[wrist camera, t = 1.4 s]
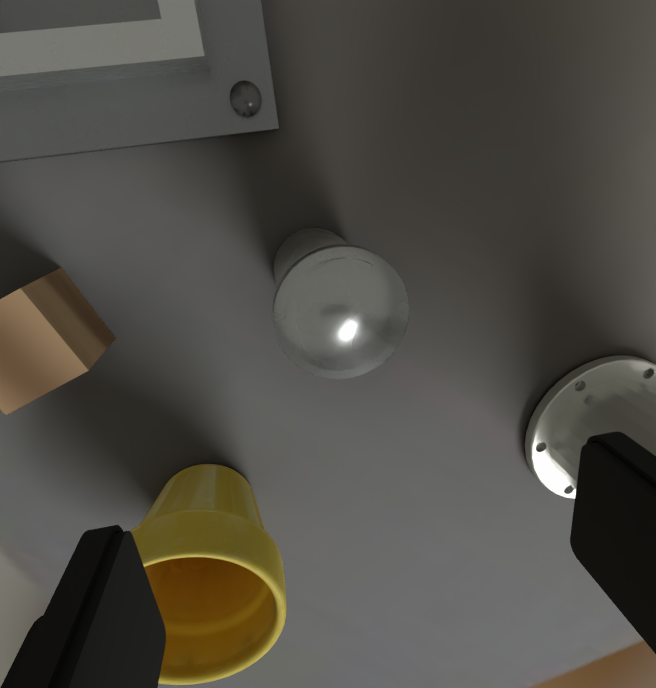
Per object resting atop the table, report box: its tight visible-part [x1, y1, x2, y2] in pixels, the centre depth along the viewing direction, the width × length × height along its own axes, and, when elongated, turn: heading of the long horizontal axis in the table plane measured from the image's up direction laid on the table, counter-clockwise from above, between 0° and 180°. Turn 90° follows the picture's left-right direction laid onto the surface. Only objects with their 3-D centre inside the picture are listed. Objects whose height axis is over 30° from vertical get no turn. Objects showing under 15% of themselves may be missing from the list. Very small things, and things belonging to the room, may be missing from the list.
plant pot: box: [130, 464, 286, 685], centre depth 29 cm, size 10×10×10 cm
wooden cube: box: [0, 268, 115, 415], centre depth 25 cm, size 5×5×5 cm
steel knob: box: [273, 228, 409, 379], centre depth 24 cm, size 6×6×10 cm
